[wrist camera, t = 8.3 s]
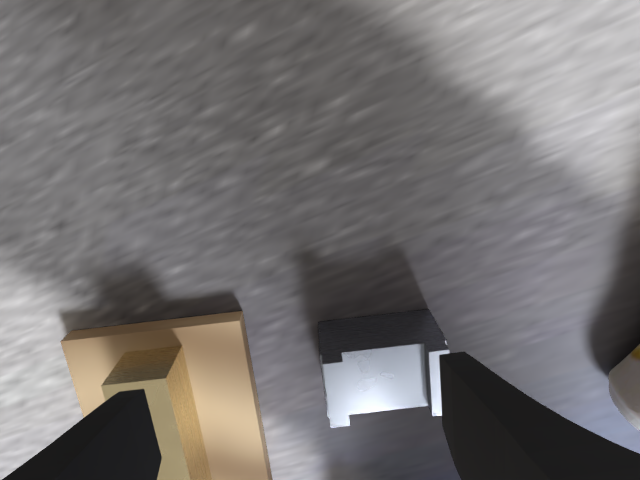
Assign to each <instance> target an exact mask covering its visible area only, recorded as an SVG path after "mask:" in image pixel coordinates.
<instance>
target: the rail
mask: <svg viewBox="0 0 640 480" xmlns="http://www.w3.org/2000/svg"><path fill="white" fill-rule="evenodd" d="M101 388H102V391H103V395H104V398H105V401H106V400H108V399H109V398H110V397H112V396H113V395H115V394H116V393H118V392H119V391H128V390H137V389H144V390H145V394H146V398H147V402H148V406H149V410H150V413H151V417H152V421H153V425H154V429H155V433H156V437H157V441H158V445H159V449H160V452H161V456H162V460H161V464H160V468H159V473H158V477H157V480H212V477H211V472H210V468H209V463H208V459H207V454H206V450H205V445H204V441H203V436H202V432H201V427H200V423H199V418H198V414H197V409H196V405H195V400H194V396H193V391H192V387H191V382H190V378H189V373H188V369H187V364H186V360H185V355H184V351H183V346H174V347H165V348H156V349H148V350H139V351H130V352H125V353H124V354H123V355H122V357H121V358H120V360H119V361H118V362H117V364H116V365H115V367H114V368H113V370H112V371H111V372H110V374H109V375H108V377H107V378H106V379H105V381H104V382H103V384H102V385H101Z"/></svg>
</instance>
